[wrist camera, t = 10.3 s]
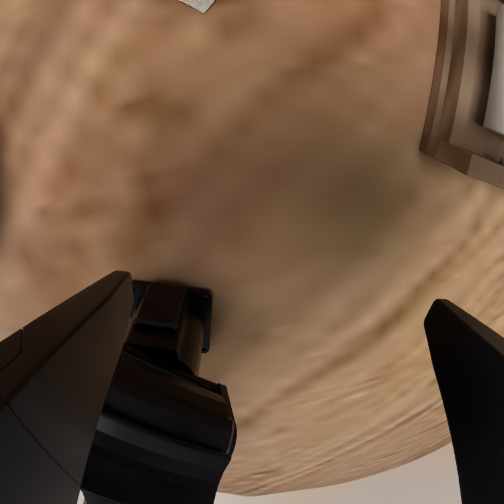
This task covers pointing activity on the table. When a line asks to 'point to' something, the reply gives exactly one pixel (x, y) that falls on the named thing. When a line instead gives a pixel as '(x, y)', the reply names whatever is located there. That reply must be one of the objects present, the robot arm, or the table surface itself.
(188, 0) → the condiment
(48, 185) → the table surface
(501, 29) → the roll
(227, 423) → the robot arm
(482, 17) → the cradle
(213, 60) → the table surface
